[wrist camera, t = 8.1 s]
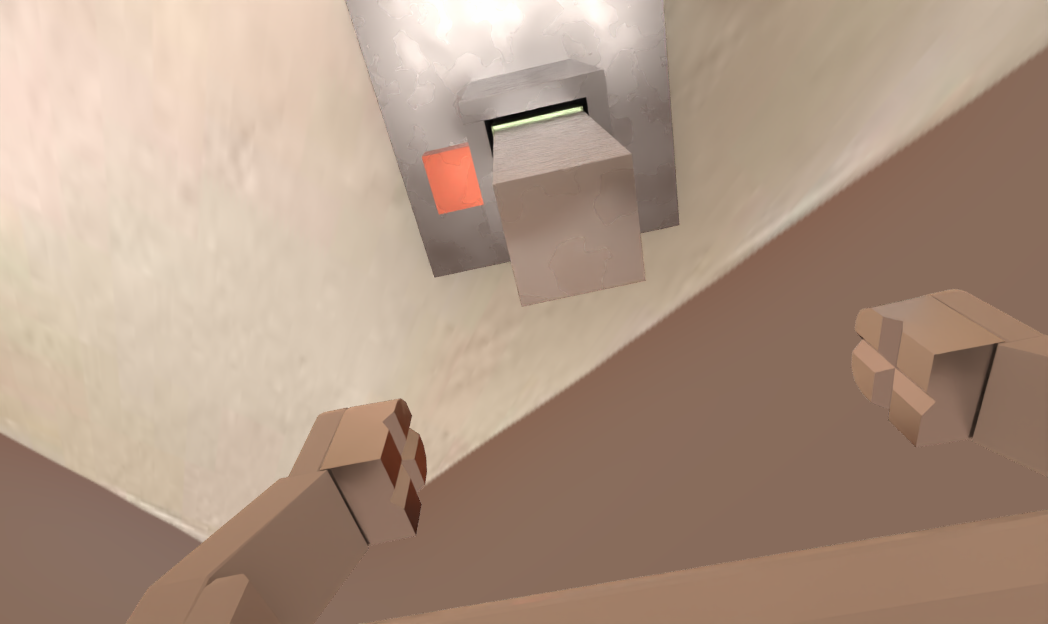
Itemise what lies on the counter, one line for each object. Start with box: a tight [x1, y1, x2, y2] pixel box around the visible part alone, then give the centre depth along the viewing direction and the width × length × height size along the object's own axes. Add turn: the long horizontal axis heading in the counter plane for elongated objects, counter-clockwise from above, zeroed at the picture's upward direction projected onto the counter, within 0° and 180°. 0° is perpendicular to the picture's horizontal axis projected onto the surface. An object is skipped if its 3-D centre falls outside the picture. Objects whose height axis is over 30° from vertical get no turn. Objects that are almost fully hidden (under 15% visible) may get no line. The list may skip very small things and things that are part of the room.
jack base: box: [345, 0, 679, 277], centre depth 32 cm, size 20×20×14 cm
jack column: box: [491, 101, 646, 306], centre depth 24 cm, size 4×4×18 cm
